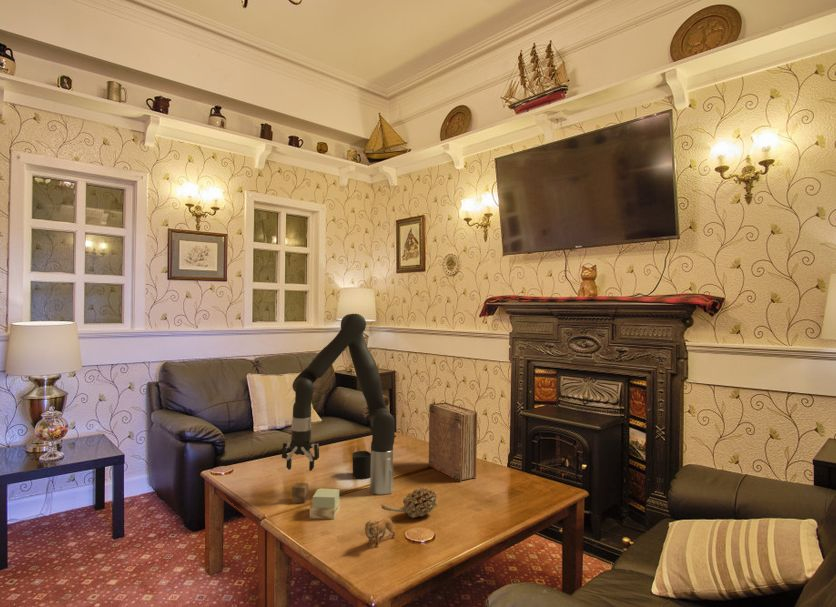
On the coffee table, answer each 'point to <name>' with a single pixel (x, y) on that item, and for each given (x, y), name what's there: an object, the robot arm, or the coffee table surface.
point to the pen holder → (361, 464)
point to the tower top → (326, 498)
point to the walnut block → (300, 493)
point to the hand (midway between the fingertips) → (300, 469)
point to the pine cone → (417, 503)
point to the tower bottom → (324, 512)
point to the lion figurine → (378, 530)
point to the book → (453, 440)
